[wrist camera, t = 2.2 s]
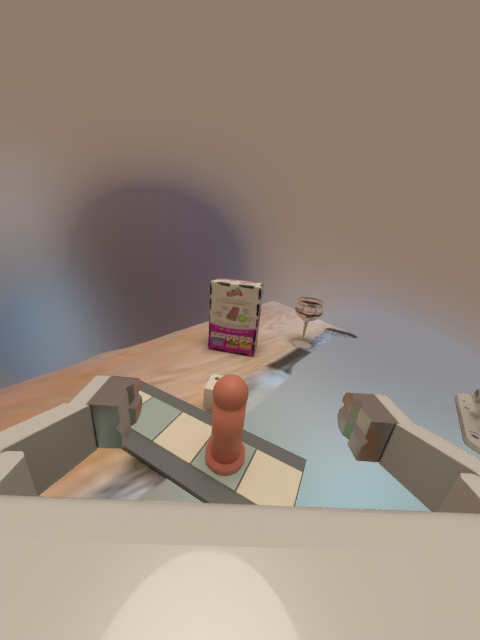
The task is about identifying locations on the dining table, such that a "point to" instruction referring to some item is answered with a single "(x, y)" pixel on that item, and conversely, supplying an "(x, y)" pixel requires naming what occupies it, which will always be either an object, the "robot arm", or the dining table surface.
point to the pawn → (227, 426)
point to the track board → (189, 455)
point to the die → (210, 391)
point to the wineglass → (307, 315)
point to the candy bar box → (234, 315)
